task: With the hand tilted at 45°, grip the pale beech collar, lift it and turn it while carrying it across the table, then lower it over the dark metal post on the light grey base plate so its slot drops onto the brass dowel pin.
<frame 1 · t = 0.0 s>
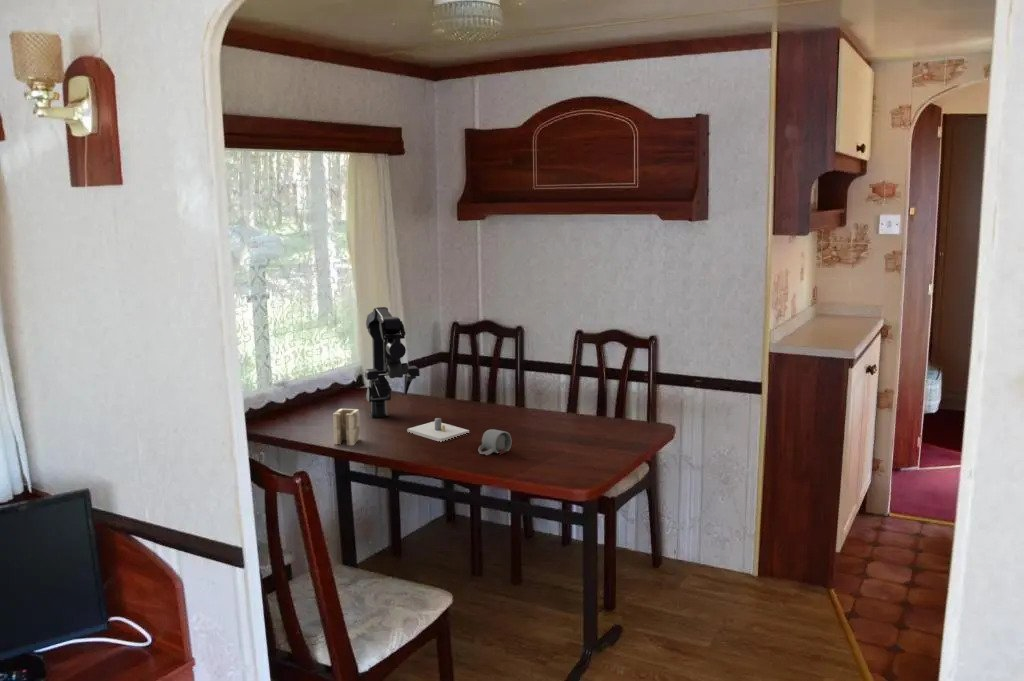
hand: (392, 396, 303), 15 cm above the table, tool pointing down, fingers open, 9 cm apart
ceramic mug: (493, 453, 288), on the table
post plate: (438, 432, 310), on the table
beech collar: (347, 441, 299), on the table
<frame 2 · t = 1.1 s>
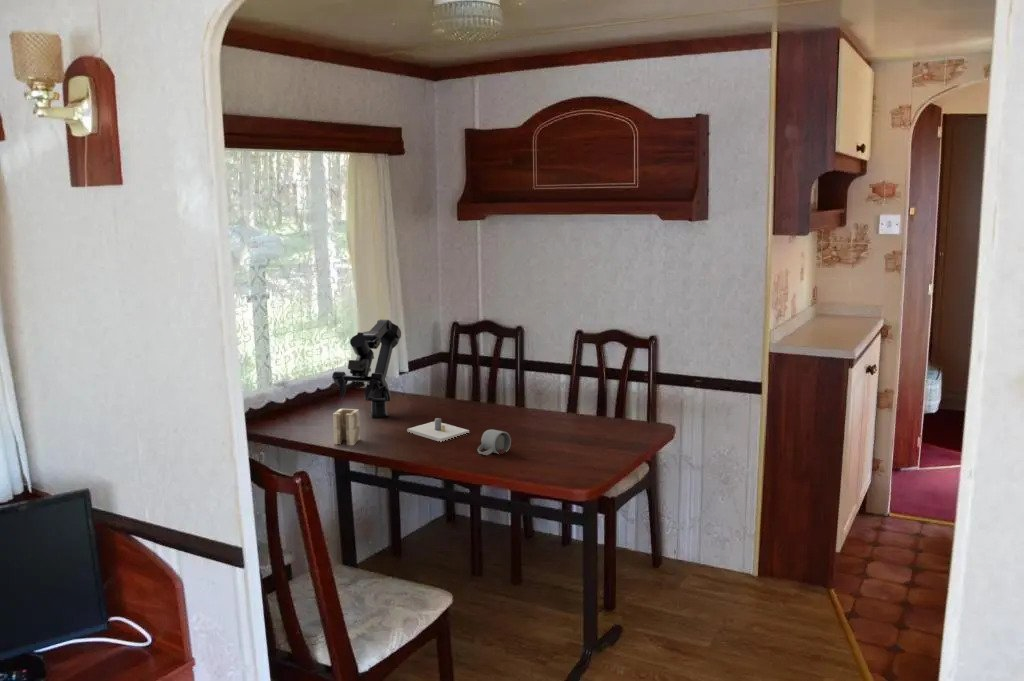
hand: (353, 399, 304), 13 cm above the table, tool tilted 45°, fingers open, 9 cm apart
nothing on the table moved.
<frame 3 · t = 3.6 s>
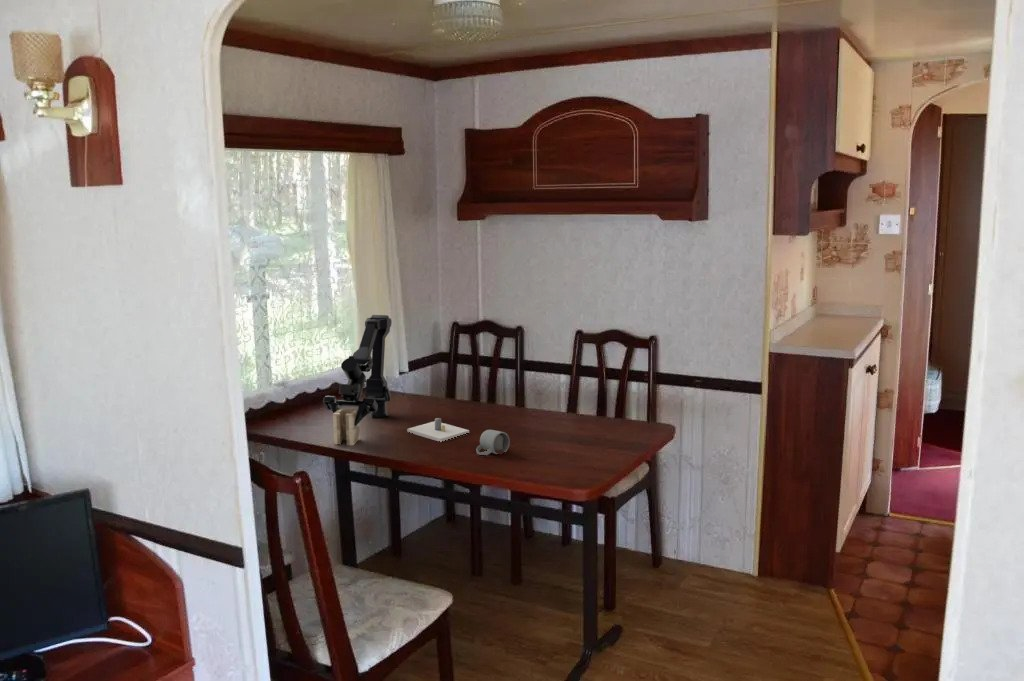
hand: (345, 424, 296), 7 cm above the table, tool tilted 45°, fingers closed on beech collar, 7 cm apart
beech collar: (347, 441, 299), on the table, touching gripper
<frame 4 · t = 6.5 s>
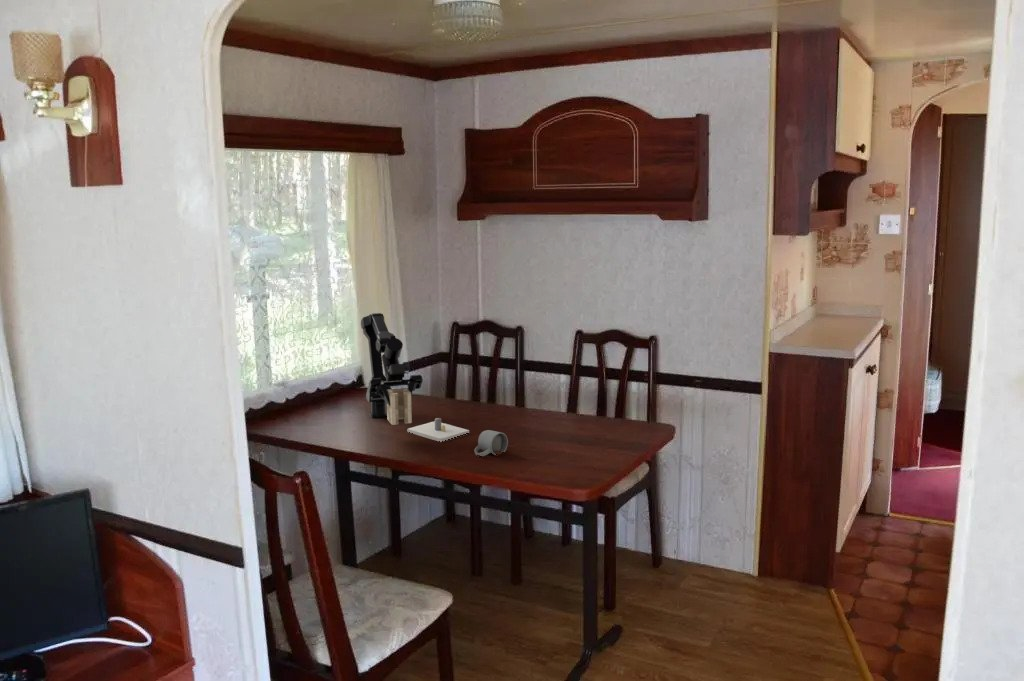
hand: (400, 404, 297), 13 cm above the table, tool tilted 45°, fingers closed on beech collar, 7 cm apart
beech collar: (399, 421, 300), point 7 cm above the table, touching gripper
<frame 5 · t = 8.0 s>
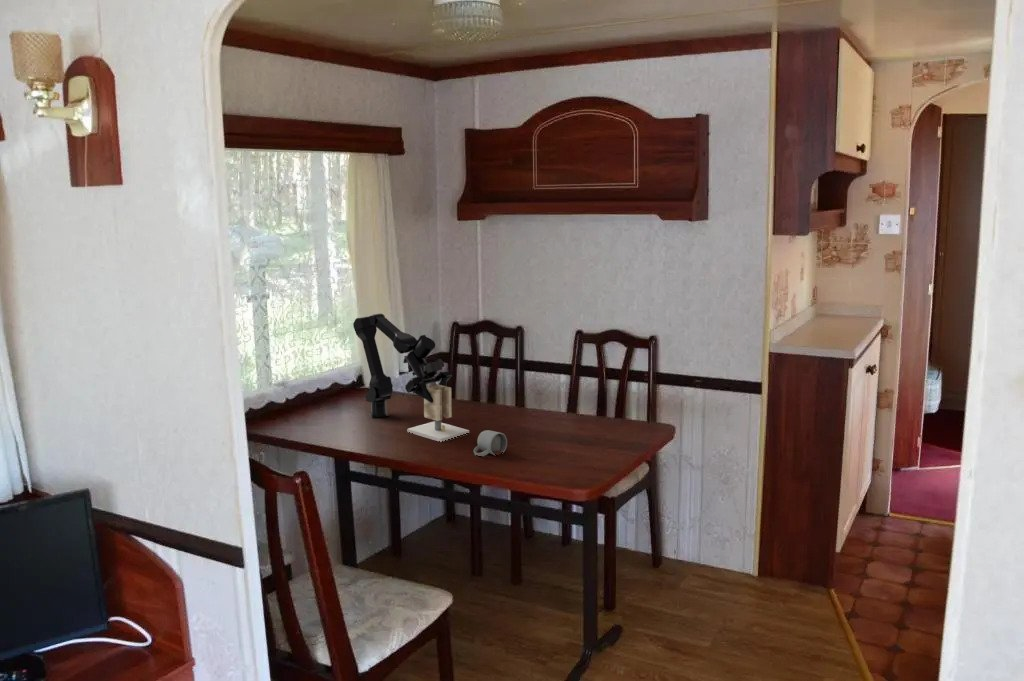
hand: (440, 400, 306), 12 cm above the table, tool tilted 45°, fingers closed on beech collar, 7 cm apart
beech collar: (437, 417, 309), point 6 cm above the table, touching gripper
when the fingers open (9 cm above the table, at t = 9.3 s): beech collar stays where it is, resting on post plate.
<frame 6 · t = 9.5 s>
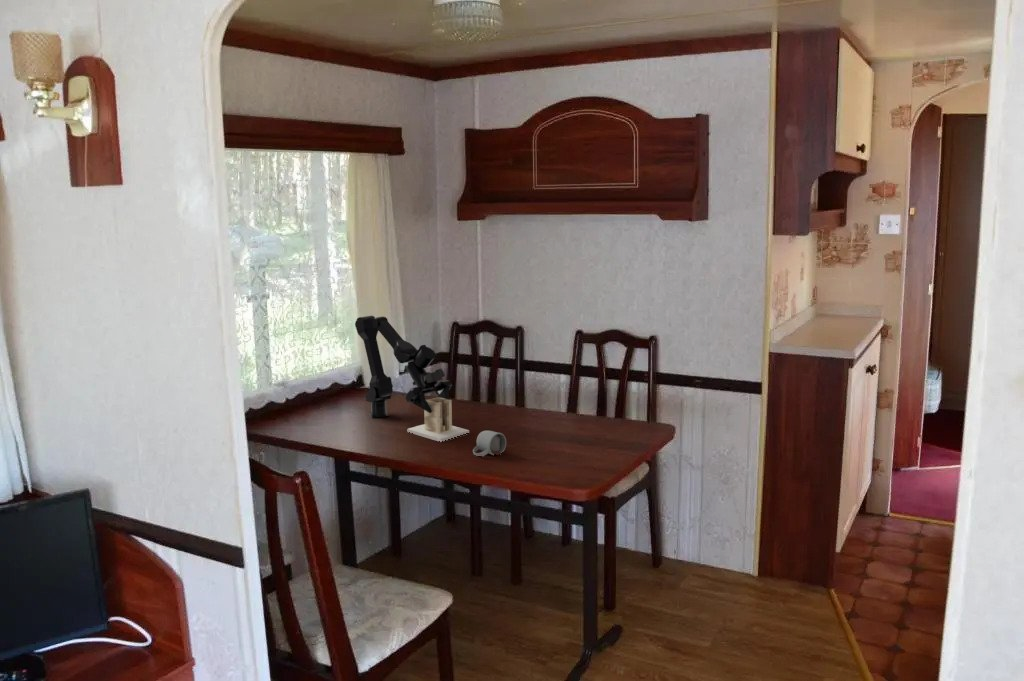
hand: (440, 409, 307), 9 cm above the table, tool tilted 45°, fingers open, 9 cm apart
beech collar: (438, 429, 309), point 1 cm above the table, touching post plate
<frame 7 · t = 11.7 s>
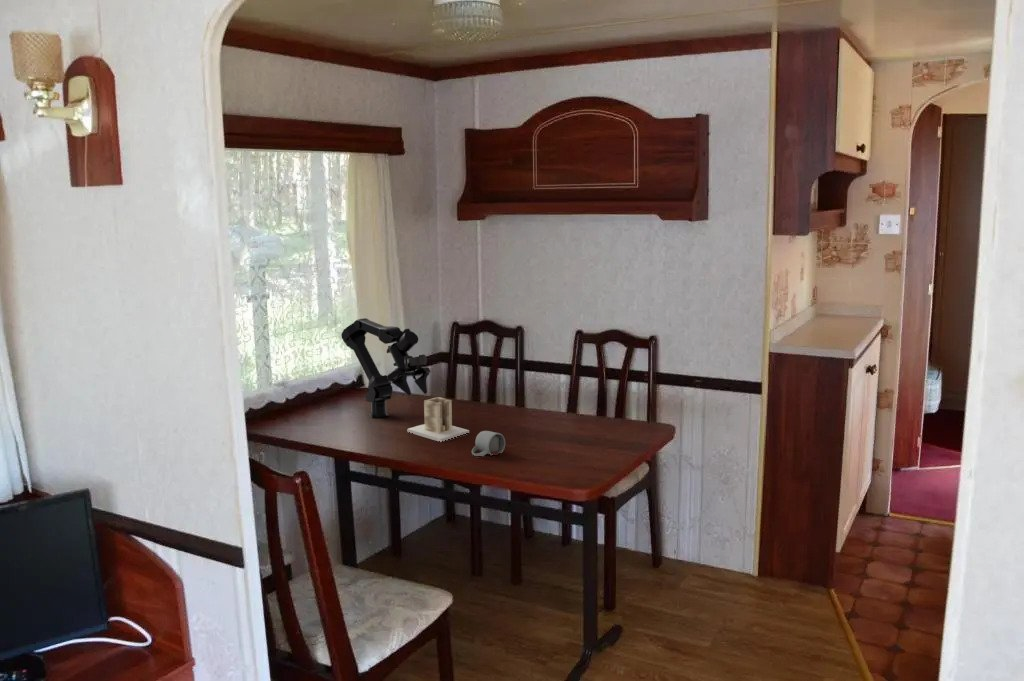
hand: (418, 394, 313), 13 cm above the table, tool tilted 40°, fingers open, 9 cm apart
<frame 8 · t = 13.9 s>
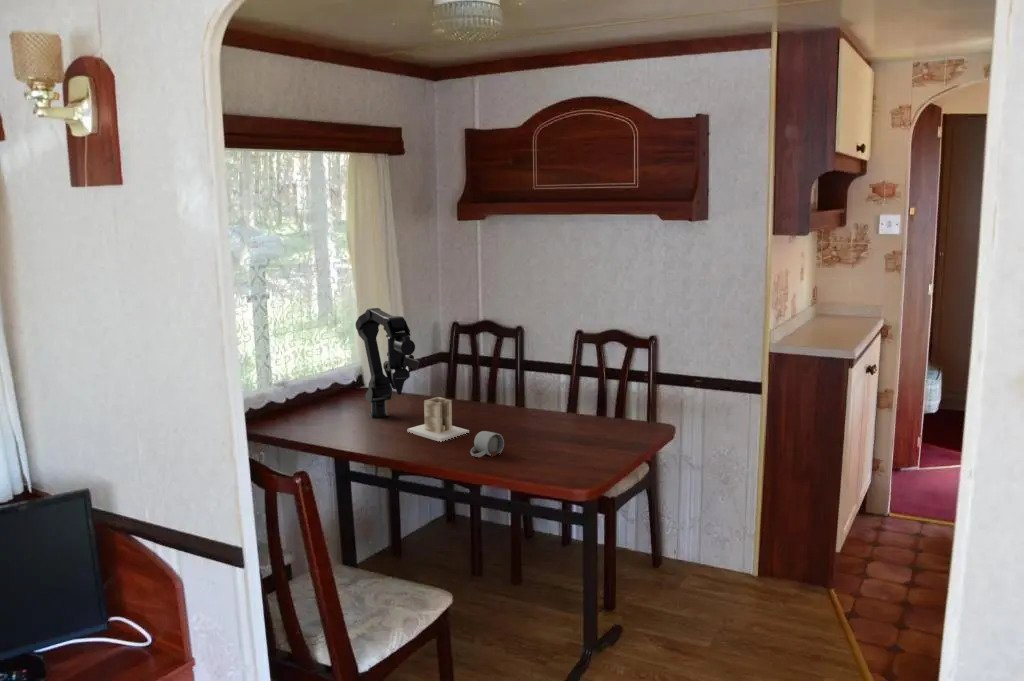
hand: (396, 391, 316), 13 cm above the table, tool pointing down, fingers open, 9 cm apart
at the end: beech collar 0.1 cm off-centre on the post plate, point 1.2 cm above the post plate's base; beech collar tilted 0°; the gripper is holding nothing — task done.
